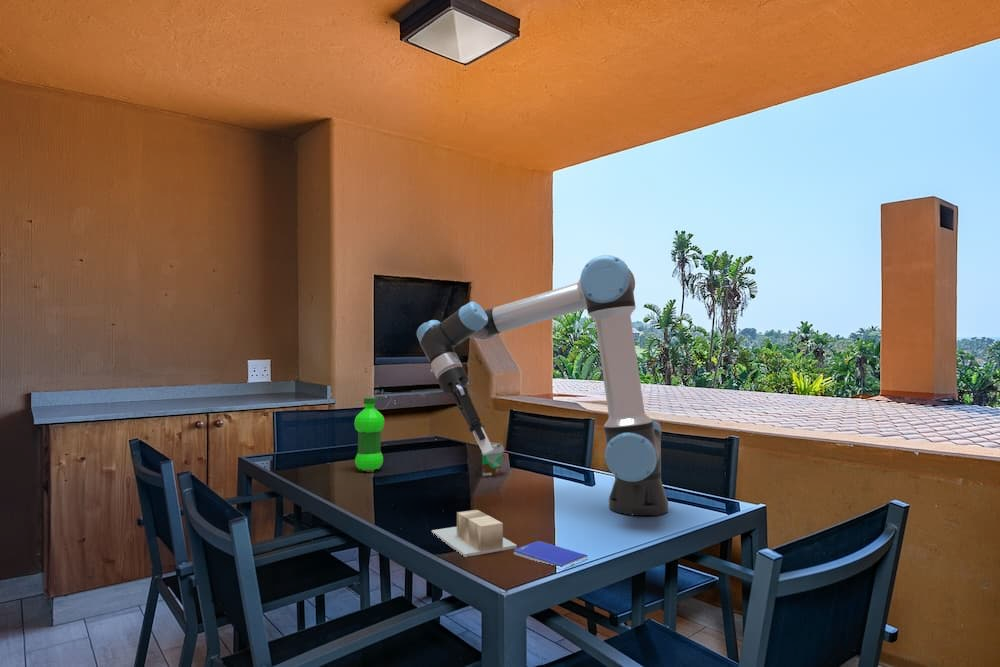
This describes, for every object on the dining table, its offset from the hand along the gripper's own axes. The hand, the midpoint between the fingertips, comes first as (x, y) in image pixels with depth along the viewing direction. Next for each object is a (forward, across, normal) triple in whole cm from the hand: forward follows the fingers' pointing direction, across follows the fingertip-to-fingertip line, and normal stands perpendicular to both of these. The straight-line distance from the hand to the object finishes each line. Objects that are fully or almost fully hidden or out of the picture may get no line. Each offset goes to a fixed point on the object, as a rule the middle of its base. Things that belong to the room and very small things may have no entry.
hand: (488, 452), depth 147 cm
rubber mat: (+18, +9, -12) cm, 24 cm away
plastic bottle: (-27, -60, -33) cm, 74 cm away
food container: (-6, -53, +4) cm, 54 cm away
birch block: (+14, +8, -12) cm, 20 cm away
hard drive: (+30, +18, 0) cm, 35 cm away
